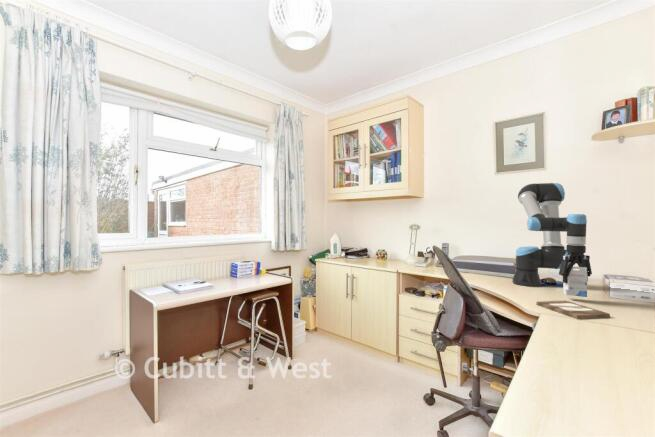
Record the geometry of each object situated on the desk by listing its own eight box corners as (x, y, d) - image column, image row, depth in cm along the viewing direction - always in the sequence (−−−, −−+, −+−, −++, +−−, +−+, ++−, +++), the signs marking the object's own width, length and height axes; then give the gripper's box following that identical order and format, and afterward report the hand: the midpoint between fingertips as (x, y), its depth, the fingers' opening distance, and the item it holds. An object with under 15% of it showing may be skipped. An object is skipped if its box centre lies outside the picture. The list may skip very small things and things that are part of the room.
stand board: (536, 304, 143) (536, 301, 143) (565, 303, 146) (565, 299, 146) (577, 319, 124) (577, 314, 124) (609, 317, 126) (609, 313, 126)
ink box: (584, 294, 152) (585, 265, 152) (587, 297, 148) (588, 267, 147) (563, 292, 156) (563, 264, 156) (565, 295, 152) (566, 266, 151)
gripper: (563, 245, 146) (562, 291, 146) (602, 245, 149) (601, 290, 150) (550, 244, 153) (549, 287, 154) (587, 243, 156) (586, 286, 157)
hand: (575, 288), depth 152 cm, fingers closed on ink box, 9 cm apart
